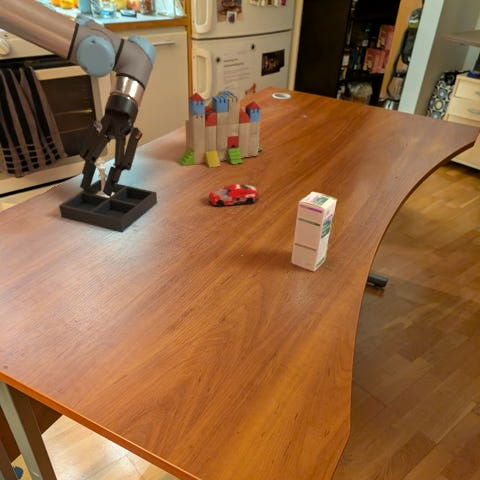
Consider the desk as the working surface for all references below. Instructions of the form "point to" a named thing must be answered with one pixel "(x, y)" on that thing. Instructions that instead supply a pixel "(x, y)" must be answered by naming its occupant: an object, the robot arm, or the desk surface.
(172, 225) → the desk surface
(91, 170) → the robot arm
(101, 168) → the chess piece
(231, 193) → the race car
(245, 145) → the block set
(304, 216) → the syrup box
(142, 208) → the grid
